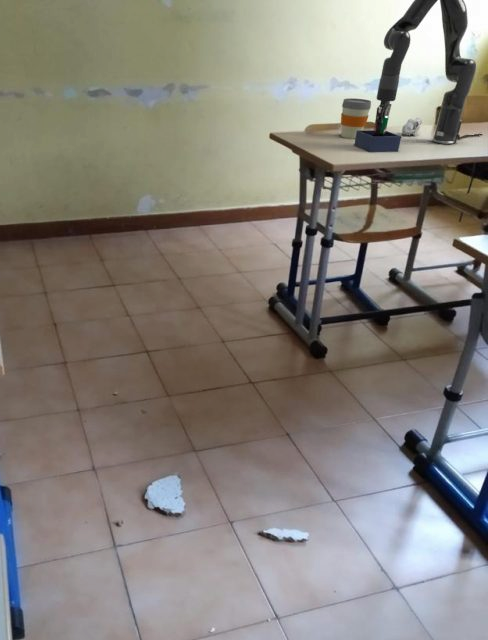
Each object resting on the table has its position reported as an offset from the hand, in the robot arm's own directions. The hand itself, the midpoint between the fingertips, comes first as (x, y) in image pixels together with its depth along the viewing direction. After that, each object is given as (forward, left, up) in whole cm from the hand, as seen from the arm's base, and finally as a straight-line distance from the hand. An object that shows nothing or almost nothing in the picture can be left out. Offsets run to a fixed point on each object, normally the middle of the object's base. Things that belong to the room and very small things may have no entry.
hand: (379, 132), depth 255 cm
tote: (0, 0, -6) cm, 6 cm away
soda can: (0, 0, -5) cm, 5 cm away
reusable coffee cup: (-1, -24, -7) cm, 25 cm away
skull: (-33, -25, -7) cm, 42 cm away
